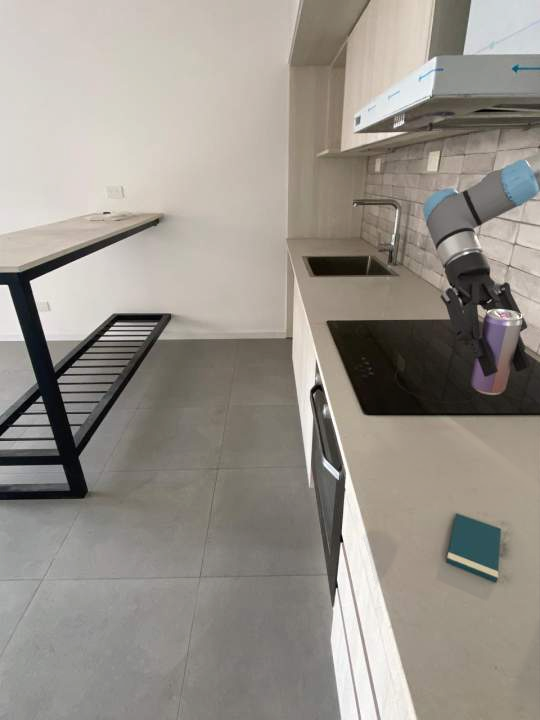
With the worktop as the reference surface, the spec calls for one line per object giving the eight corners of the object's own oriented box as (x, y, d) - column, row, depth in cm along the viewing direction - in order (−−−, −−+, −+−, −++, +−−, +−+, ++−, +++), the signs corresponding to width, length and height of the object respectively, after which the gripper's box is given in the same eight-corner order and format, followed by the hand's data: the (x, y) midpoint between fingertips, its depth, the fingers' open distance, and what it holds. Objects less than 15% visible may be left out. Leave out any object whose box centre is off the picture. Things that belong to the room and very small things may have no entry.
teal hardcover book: (455, 516, 60) (456, 512, 60) (499, 532, 57) (501, 528, 57) (446, 562, 53) (447, 558, 53) (496, 583, 50) (497, 578, 50)
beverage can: (472, 393, 74) (488, 318, 68) (467, 379, 79) (482, 307, 73) (507, 397, 72) (527, 320, 66) (501, 382, 77) (519, 309, 71)
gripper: (492, 268, 83) (536, 371, 75) (410, 276, 79) (448, 385, 72) (518, 246, 76) (569, 357, 69) (429, 253, 72) (473, 371, 65)
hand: (507, 371), depth 70 cm, fingers closed on beverage can, 6 cm apart
